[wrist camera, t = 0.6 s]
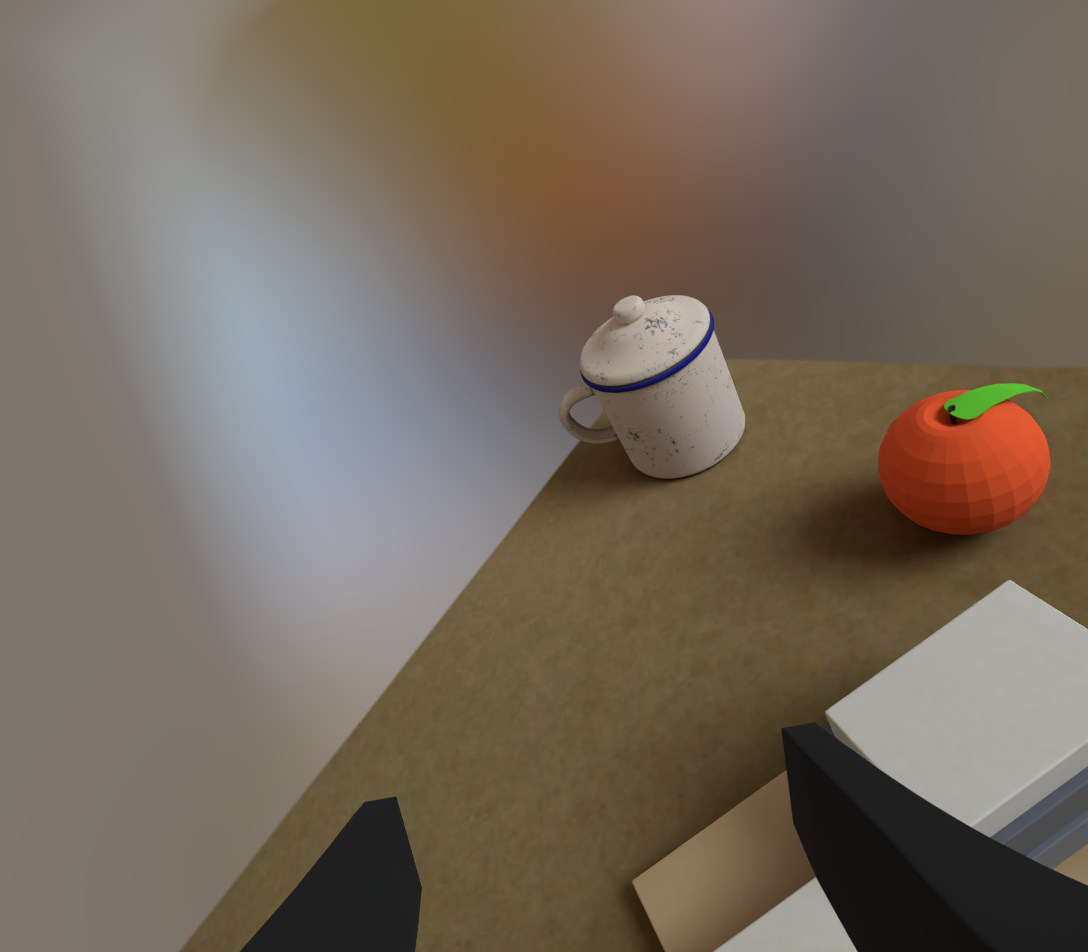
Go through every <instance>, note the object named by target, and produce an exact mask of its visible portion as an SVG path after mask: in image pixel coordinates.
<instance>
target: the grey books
mask: <svg viewBox="0 0 1088 952" xmlns="http://www.w3.org/2000/svg"><path fill="white" fill-rule="evenodd" d="M821 728H823V729H824V730H826V731H827V732H828V733H830V734H831V735H833V736H834V733H833V731H832V729H831V726H830V724H829V722H827V723H826V724H825V725H823V726H822V727H821ZM834 737H835V736H834ZM835 738H836V737H835ZM990 838H992V839H993V840H995V841H997V842H999V843H1001V844H1003V845H1005V846H1007V847H1009V848H1011V849H1013V850H1015V851H1017V852H1019V853H1021V854H1023V855H1025V856H1026V857H1028V858H1030V859H1032V860H1034V861H1036V862H1038V863H1040V864H1042V865H1044V866H1047V867H1049V868H1051V869H1054V868H1055V867H1057V866H1058V865H1059V864H1061V863H1062V862H1063V861H1065V860H1066V859H1067V858H1069V857H1070V856H1071V855H1073V854H1074V853H1076V852H1077V851H1078V850H1080V849H1081V848H1082V847H1084V846H1085V845H1086V844H1088V766H1087V767H1086V768H1085V769H1083V770H1082V771H1080V772H1079V773H1078V774H1076V775H1075V776H1074V777H1072V778H1071V779H1070V780H1068V781H1067V782H1065V783H1064V784H1063V785H1061V786H1060V787H1059V788H1057V789H1056V790H1054V791H1053V792H1052V793H1050V794H1049V795H1048V796H1046V797H1045V798H1044V799H1042V800H1041V801H1039V802H1038V803H1037V804H1035V805H1034V806H1033V807H1031V808H1030V809H1028V810H1027V811H1026V812H1024V813H1023V814H1022V815H1020V816H1019V817H1018V818H1016V819H1015V820H1013V821H1012V822H1011V823H1009V824H1008V825H1007V826H1005V827H1004V828H1002V829H1001V830H1000V831H998V832H997V833H996V834H994V835H993V836H992V837H990Z"/></svg>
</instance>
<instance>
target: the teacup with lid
mask: <svg viewBox="0 0 1088 952" xmlns="http://www.w3.org/2000/svg"><path fill="white" fill-rule="evenodd" d="M613 316H614V317H612V318H611V319H609V320H608V321H607V322H605V323H604V324H603V325H602V326H601V327H600V328H598V329H597V331H595V333H594V334H593V335H592V336H591V337H590V339H589V340H588V341H587V343H586V344H585V346H584V348H583V351H582V353H581V358H580V370H581V376H582V378H583V380H584V382H585V383H583V384H581V385H578V386H576V387H574V388H573V389H571V390H570V391H569V392H568V393H566V394H565V395H564V397H563V399H562V400H561V402H560V406H559V417H560V420H561V423H562V425H563V426H564V427H565V429H566V430H567V431H568V432H569V433H570V434H571V435H572V436H574V437H575V438H577V439H579V440H581V441H584V442H587V443H591V444H603V443H608V442H612V441H615V440H618V439H620V441H621V443H622V445H623V447H624V449H625V451H626V453H627V454H628V456H629V458H630V460H631V462H632V463H633V465H634V466H635V467H636V468H637V469H638V470H640V471H641V472H643V473H644V474H647V475H649V476H652V477H657V478H667V479H668V478H680V477H685V476H689V475H693V474H696V473H698V472H701V471H703V470H705V469H707V468H709V467H711V466H713V465H714V464H716V463H718V462H719V461H720V460H722V459H723V458H724V457H725V456H727V455H728V454H729V453H730V452H731V451H732V450H733V448H734V447H735V446H736V445H737V443H738V442H739V440H740V438H741V436H742V434H743V431H744V427H745V414H744V411H743V408H742V405H741V403H740V400H739V397H738V395H737V392H736V389H735V387H734V384H733V381H732V378H731V376H730V373H729V370H728V368H727V365H726V362H725V360H724V357H723V355H722V352H721V349H720V346H719V344H718V341H717V338H716V335H715V333H714V319H713V316H712V314H711V312H710V311H709V310H708V309H707V308H706V306H705V305H704V304H702V303H701V302H700V301H698V300H696V299H694V298H691V297H687V296H679V295H678V296H677V295H673V296H663V297H658V298H654V299H650V300H647V301H644V302H643V300H642V299H641V298H639V297H638V296H629V297H626V298H623V299H622V300H620V301H619V302H618V303H617V304H616V305H615V307H614V309H613ZM593 395H596V396H597V399H598V400H599V402H600V404H601V406H602V408H603V410H604V412H605V413H606V415H607V417H608V419H609V421H610V423H611V425H612V426H611V427H608V428H604V429H597V430H596V429H589V428H586V427H584V426H582V425H580V424H579V423H577V422H576V421H575V420H574V419H573V418H572V417H571V415H570V413H569V411H570V409H571V407H572V406H573V405H574V404H575V403H577V402H579V401H580V400H583V399H585V398H588V397H590V396H593Z"/></svg>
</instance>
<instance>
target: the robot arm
mask: <svg viewBox="0 0 1088 952" xmlns="http://www.w3.org/2000/svg"><path fill="white" fill-rule="evenodd" d="M781 730H782V738H783V746H784V754H785V762H786V770H787V778H788V786H789V794H790V802H791V810H792V818H793V824H794V827H795V829H796V831H797V834H798V836H799V839H800V841H801V843H802V846H803V848H804V851H805V853H806V855H807V858H808V860H809V862H810V864H811V867H812V869H813V871H814V874H815V876H816V878H817V880H818V882H819V884H820V886H821V888H822V889H823V891H824V893H825V895H826V897H827V899H828V900H829V902H830V904H831V906H832V908H833V909H834V911H835V913H836V915H837V916H838V918H839V920H840V922H841V924H842V925H843V927H844V929H845V931H846V933H847V934H848V936H849V938H850V940H851V941H852V943H853V945H854V947H855V948H856V950H857V952H1088V885H1086V884H1084V883H1081V882H1079V881H1077V880H1075V879H1072V878H1070V877H1068V876H1066V875H1063V874H1061V873H1059V872H1057V871H1055V870H1053V869H1051V868H1049V867H1047V866H1044V865H1042V864H1040V863H1038V862H1036V861H1034V860H1032V859H1030V858H1028V857H1026V856H1025V855H1023V854H1021V853H1019V852H1017V851H1015V850H1013V849H1011V848H1009V847H1007V846H1005V845H1003V844H1001V843H999V842H997V841H995V840H993V839H992V838H990V837H988V836H986V835H984V834H983V833H981V832H979V831H977V830H975V829H974V828H972V827H970V826H968V825H967V824H965V823H963V822H962V821H960V820H958V819H957V818H955V817H953V816H952V815H950V814H948V813H947V812H945V811H943V810H942V809H940V808H938V807H937V806H935V805H933V804H932V803H930V802H928V801H927V800H925V799H924V798H922V797H921V796H919V795H917V794H916V793H914V792H913V791H911V790H910V789H908V788H907V787H905V786H904V785H902V784H901V783H899V782H898V781H896V780H895V779H893V778H892V777H890V776H889V775H887V774H886V773H884V772H883V771H882V770H880V769H879V768H877V767H876V766H874V765H873V764H872V763H870V762H869V761H867V760H866V759H865V758H863V757H862V756H860V755H859V754H858V753H856V752H855V751H853V750H852V749H851V748H849V747H848V746H846V745H845V744H844V743H842V742H841V741H840V740H838V739H837V738H835V737H834V736H833V735H831V734H830V733H828V732H827V731H826V730H824V729H823V728H821V727H820V726H819V725H817V724H816V723H810V724H804V725H798V726H793V727H787V728H781ZM421 890H422V887H421V883H420V880H419V876H418V873H417V869H416V865H415V862H414V858H413V855H412V851H411V847H410V844H409V840H408V837H407V833H406V830H405V826H404V822H403V819H402V815H401V812H400V808H399V804H398V801H397V797H391V798H385V799H380V800H374V801H368V802H364V803H363V805H362V806H361V807H360V808H359V809H358V810H357V812H356V813H355V814H354V815H353V817H352V818H351V819H350V820H349V822H348V823H347V824H346V825H345V827H344V828H343V829H342V831H341V832H340V833H339V834H338V836H337V837H336V838H335V839H334V841H333V842H332V843H331V845H330V846H329V847H328V848H327V850H326V851H325V852H324V853H323V855H322V856H321V857H320V858H319V860H318V861H317V862H316V863H315V865H314V866H313V867H312V868H311V870H310V871H309V872H308V873H307V874H306V876H305V877H304V878H303V879H302V881H301V882H300V883H299V884H298V886H297V887H296V888H295V889H294V890H293V892H292V893H291V894H290V895H289V896H288V898H287V899H286V900H285V901H284V902H283V903H282V904H281V905H280V907H279V908H278V909H277V910H276V911H275V912H274V913H273V915H272V916H271V917H270V918H269V919H268V920H267V921H266V923H265V924H264V925H263V926H262V927H261V928H260V929H259V931H258V932H257V933H256V934H255V935H254V936H253V937H252V939H251V940H250V941H249V942H248V943H247V944H246V945H245V946H244V947H243V948H242V949H241V951H240V952H415V948H416V939H417V931H418V922H419V911H420V900H421Z"/></svg>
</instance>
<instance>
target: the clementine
mask: <svg viewBox="0 0 1088 952" xmlns="http://www.w3.org/2000/svg"><path fill="white" fill-rule="evenodd" d="M1031 391H1036V392H1040V393H1041V394H1042V395H1043V396H1044V397H1045V398H1046V399H1047V400H1048V401H1049V402H1051V401H1050V400H1049V398H1048V397H1047V396H1046V394H1045V393H1044V392H1042V391H1041V390H1039V389H1036V388H1033V387H1030V386H1028V385H1025V384H996V385H990V386H985V387H981V388H978V389H974V390H957V391H947V392H943V393H939V394H935V395H932V396H929V397H927V398H925V399H922V400H920V401H918V402H916V403H915V404H913V405H912V406H910V407H909V408H907V409H906V410H905V411H904V412H903V413H902V414H901V415H900V416H899V417H898V418H897V419H896V420H895V421H894V422H893V423H892V424H891V425H890V427H889V429H888V431H887V433H886V435H885V437H884V439H883V442H882V444H881V446H880V451H879V460H878V462H879V476H880V479H881V482H882V486H883V488H884V490H885V492H886V494H887V496H888V498H889V499H890V500H891V502H892V503H893V504H894V506H895V507H896V508H897V509H898V510H899V511H900V512H902V513H903V514H904V515H905V516H906V517H908V518H909V519H911V520H912V521H913V522H915V523H916V524H918V525H920V526H923V527H925V528H928V529H930V530H933V531H938V532H943V533H949V534H954V535H973V534H979V533H985V532H989V531H993V530H995V529H998V528H1001V527H1003V526H1006V525H1009V524H1011V523H1012V522H1014V521H1015V520H1017V519H1018V518H1020V517H1021V516H1023V515H1024V514H1025V513H1026V512H1027V511H1028V509H1029V508H1030V507H1031V506H1032V505H1033V504H1034V502H1035V501H1036V500H1037V499H1038V498H1039V497H1040V496H1041V494H1042V493H1043V490H1044V487H1045V485H1046V482H1047V479H1048V475H1049V470H1050V466H1051V465H1050V455H1049V449H1048V445H1047V440H1046V437H1045V435H1044V434H1043V432H1042V430H1041V429H1040V427H1039V425H1038V424H1037V423H1036V422H1035V420H1034V419H1033V418H1032V417H1031V416H1030V414H1028V413H1027V412H1026V411H1025V410H1023V409H1022V408H1021V407H1020V406H1019V405H1017V404H1015V403H1013V402H1011V401H1009V400H1007V399H1008V398H1010V397H1012V396H1014V395H1017V394H1021V393H1025V392H1031Z"/></svg>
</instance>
